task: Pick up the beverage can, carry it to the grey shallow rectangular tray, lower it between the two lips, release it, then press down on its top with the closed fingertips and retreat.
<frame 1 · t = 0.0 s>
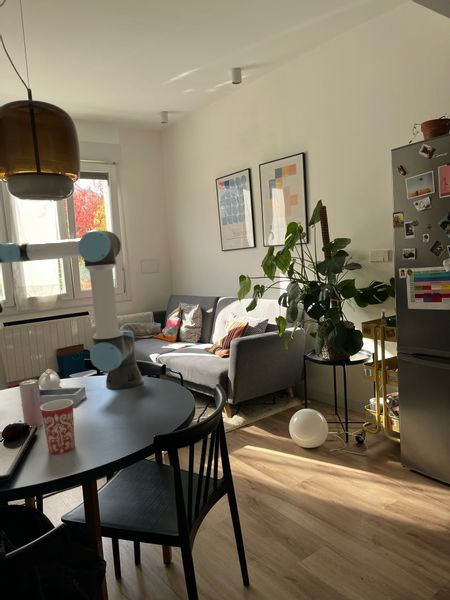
mug: (62, 447, 134), on the table
beverage can: (34, 425, 153), on the table
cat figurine: (50, 390, 193), on the table
grey shallow rectangular tray: (56, 402, 176), on the table
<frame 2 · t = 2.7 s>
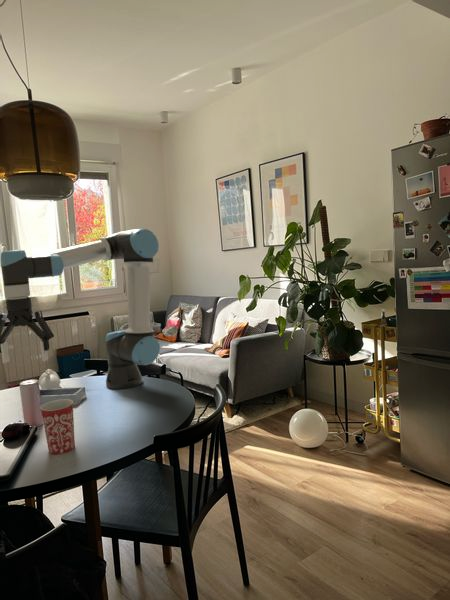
hand: (25, 361, 150), 22 cm above the table, fingers open, 13 cm apart
nothing on the table moved.
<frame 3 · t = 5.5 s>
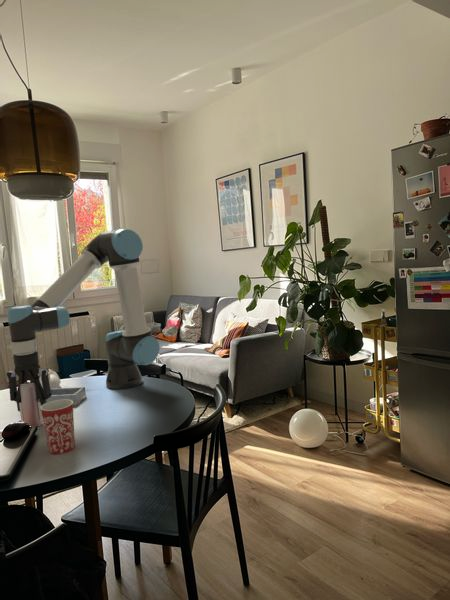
hand: (33, 419, 153), 2 cm above the table, fingers closed on beverage can, 6 cm apart
beverage can: (34, 425, 153), on the table, touching gripper
everything else where it was.
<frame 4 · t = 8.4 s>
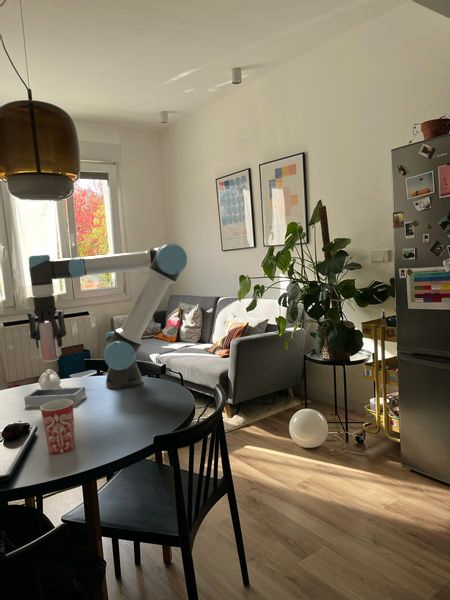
hand: (50, 355, 174), 18 cm above the table, fingers closed on beverage can, 6 cm apart
beverage can: (51, 360, 174), point 16 cm above the table, touching gripper
everything else where it was.
when the fingers open (5 cm above the table, at t = 11.5 s): beverage can drops 2 cm, resting on grey shallow rectangular tray.
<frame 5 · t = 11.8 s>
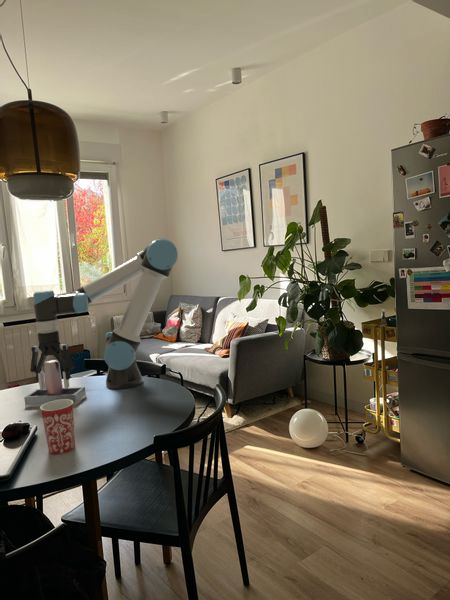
hand: (54, 388, 175), 6 cm above the table, fingers open, 9 cm apart
beverage can: (56, 399, 176), point 1 cm above the table, touching grey shallow rectangular tray
everything else where it was.
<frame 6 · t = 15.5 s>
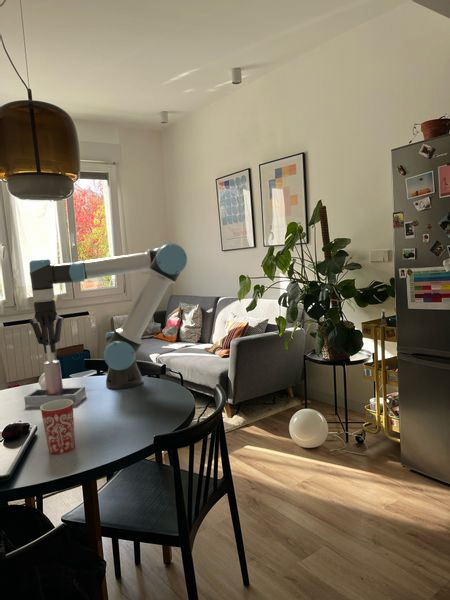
hand: (51, 361, 174), 16 cm above the table, fingers closed
beverage can: (56, 400, 176), point 1 cm above the table, touching gripper, grey shallow rectangular tray
everything else where it was.
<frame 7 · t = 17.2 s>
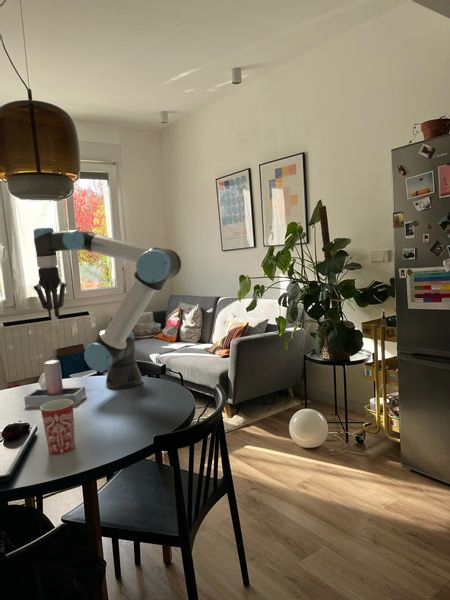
hand: (55, 325, 183), 29 cm above the table, fingers closed
beverage can: (56, 400, 176), point 1 cm above the table, touching grey shallow rectangular tray
everything else where it was.
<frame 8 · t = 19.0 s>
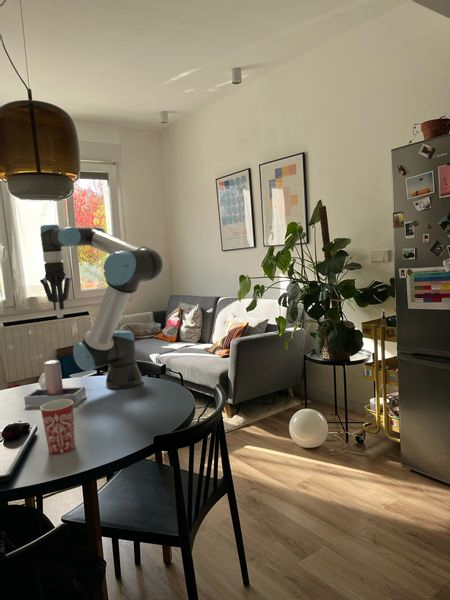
hand: (60, 317, 193), 30 cm above the table, fingers closed
nothing on the table moved.
at the end: beverage can inside the target area on the grey shallow rectangular tray (0.0 cm from its centre), point 0.8 cm above the grey shallow rectangular tray's base; beverage can tilted 0°; the gripper is holding nothing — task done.
